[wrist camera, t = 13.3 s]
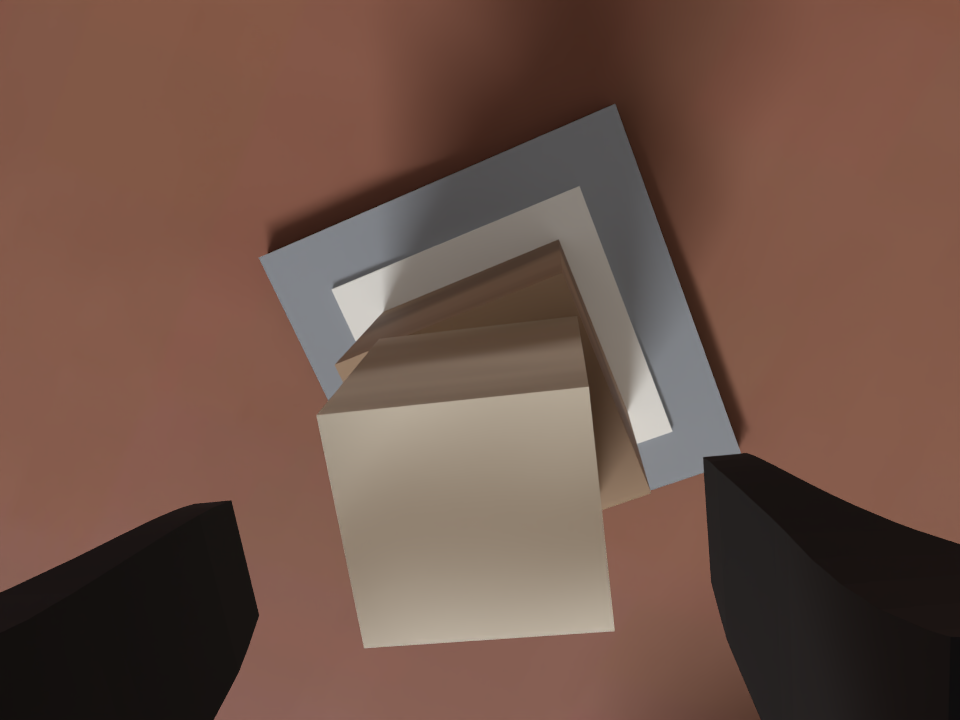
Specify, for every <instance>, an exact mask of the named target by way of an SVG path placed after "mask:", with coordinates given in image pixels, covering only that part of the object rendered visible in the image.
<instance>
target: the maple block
mask: <svg viewBox="0 0 960 720" xmlns="http://www.w3.org/2000/svg"><path fill="white" fill-rule="evenodd" d="M317 420H318V425H319V430H320V435H321V440H322V445H323V449H324V454H325V459H326V464H327V469H328V474H329V479H330V484H331V489H332V493H333V498H334V503H335V508H336V513H337V518H338V523H339V528H340V533H341V537H342V542H343V547H344V552H345V557H346V562H347V567H348V572H349V577H350V581H351V586H352V591H353V596H354V601H355V606H356V611H357V616H358V621H359V625H360V630H361V635H362V640H363V645H364V648H374V647H388V646H403V645H418V644H432V643H447V642H462V641H476V640H491V639H505V638H520V637H535V636H549V635H564V634H578V633H593V632H608V631H615V630H614V620H613V611H612V601H611V592H610V582H609V573H608V564H607V554H606V545H605V535H604V526H603V516H602V507H601V497H600V488H599V478H598V469H597V459H596V450H595V441H594V431H593V422H592V412H591V403H590V393H589V385H588V379H587V373H586V366H585V360H584V354H583V348H582V342H581V336H580V330H579V324H578V317H577V316H572V317H564V318H555V319H546V320H538V321H529V322H520V323H512V324H503V325H494V326H486V327H477V328H468V329H460V330H451V331H442V332H434V333H425V334H416V335H408V336H399V337H390V338H382V339H379V340H378V341H377V342H376V343H375V344H374V346H373V347H372V348H371V349H370V351H369V352H368V353H367V354H366V355H365V357H364V358H363V359H362V360H361V362H360V363H359V364H358V365H357V366H356V368H355V369H354V370H353V371H352V373H351V374H350V375H349V376H348V377H347V379H346V380H345V381H344V382H343V384H342V385H341V386H340V387H339V388H338V390H337V391H336V392H335V393H334V395H333V396H332V397H331V398H330V399H329V401H328V402H327V403H326V404H325V406H324V407H323V408H322V409H321V410H320V412H319V413H318V414H317Z"/></svg>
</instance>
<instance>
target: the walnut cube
mask: <svg viewBox="0 0 960 720" xmlns="http://www.w3.org/2000/svg"><path fill="white" fill-rule="evenodd" d="M572 316H577V317H578V324H579V330H580V336H581V342H582V348H583V354H584V360H585V366H586V373H587V379H588V385H589V393H590V403H591V412H592V422H593V431H594V441H595V450H596V459H597V469H598V478H599V488H600V497H601V507H602V510H604V509H607V508H609V507H612V506H615V505H618V504H621V503H624V502H627V501H630V500H633V499H636V498H639V497H642V496H644V495H647V494H650V493H651V491H650V487H649V484H648V480H647V477H646V473H645V470H644V467H643V463H642V460H641V456H640V453H639V449H638V446H637V442H636V439H635V435H634V432H633V428H632V425H631V421H630V418H629V414H628V411H627V409H626V406H625V404H624V401H623V399H622V396H621V394H620V391H619V389H618V386H617V384H616V381H615V379H614V376H613V374H612V371H611V369H610V366H609V364H608V361H607V359H606V356H605V354H604V351H603V349H602V346H601V344H600V341H599V339H598V336H597V334H596V331H595V329H594V326H593V324H592V321H591V319H590V316H589V314H588V311H587V309H586V306H585V304H584V301H583V299H582V296H581V294H580V291H579V289H578V286H577V284H576V281H575V279H574V276H573V274H572V271H571V269H570V266H569V264H568V261H567V259H566V256H565V254H564V251H563V249H562V246H561V244H560V241H559V239H558V240H556V241H553V242H551V243H549V244H546V245H544V246H541V247H539V248H536V249H534V250H532V251H529V252H527V253H524V254H522V255H520V256H517V257H515V258H512V259H510V260H507V261H505V262H503V263H500V264H498V265H495V266H493V267H490V268H488V269H486V270H483V271H481V272H478V273H476V274H474V275H471V276H469V277H466V278H464V279H461V280H459V281H457V282H454V283H452V284H449V285H447V286H444V287H442V288H440V289H437V290H435V291H432V292H430V293H428V294H425V295H423V296H420V297H418V298H415V299H413V300H411V301H408V302H406V303H403V304H401V305H398V306H396V307H394V308H391V309H389V310H386V311H384V312H383V313H382V314H381V315H380V316H379V317H378V318H377V319H376V320H375V321H374V322H373V324H372V325H371V326H370V327H369V328H368V329H367V330H366V331H365V332H364V333H363V334H362V335H361V337H360V338H359V339H358V340H357V341H356V342H355V343H354V344H353V345H352V346H351V347H350V349H349V350H348V351H347V352H346V353H345V354H344V355H343V356H342V357H341V358H340V359H339V360H338V362H337V363H336V364H335V367H336V369H337V371H338V373H339V375H340V377H341V379H342V381H343V382H344V381H345V380H346V379H347V377H348V376H349V375H350V374H351V373H352V371H353V370H354V369H355V368H356V366H357V365H358V364H359V363H360V362H361V360H362V359H363V358H364V357H365V355H366V354H367V353H368V352H369V351H370V349H371V348H372V347H373V346H374V344H375V343H376V342H377V341H378V340H379V339H382V338H390V337H399V336H408V335H416V334H425V333H434V332H442V331H451V330H460V329H468V328H477V327H486V326H494V325H503V324H512V323H520V322H529V321H538V320H546V319H555V318H564V317H572Z"/></svg>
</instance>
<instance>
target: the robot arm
mask: <svg viewBox="0 0 960 720" xmlns="http://www.w3.org/2000/svg"><path fill="white" fill-rule="evenodd" d="M703 465H704V481H705V496H706V511H707V526H708V541H709V556H710V571H711V583H712V587H713V591H714V594H715V598H716V602H717V606H718V609H719V613H720V617H721V620H722V624H723V627H724V631H725V634H726V638H727V641H728V643H729V646H730V648H731V650H732V653H733V655H734V658H735V660H736V662H737V665H738V667H739V669H740V672H741V674H742V676H743V679H744V681H745V684H746V686H747V688H748V690H749V693H750V695H751V697H752V700H753V702H754V704H755V707H756V709H757V711H758V714H759V716H760V718H761V720H960V544H957V543H954V542H951V541H948V540H945V539H942V538H939V537H936V536H933V535H930V534H927V533H924V532H920V531H917V530H914V529H912V528H909V527H906V526H904V525H901V524H898V523H896V522H893V521H891V520H888V519H886V518H883V517H881V516H879V515H876V514H874V513H871V512H869V511H867V510H864V509H862V508H860V507H857V506H855V505H853V504H851V503H848V502H846V501H844V500H842V499H840V498H838V497H835V496H833V495H831V494H829V493H827V492H825V491H823V490H821V489H819V488H817V487H815V486H813V485H811V484H809V483H807V482H805V481H803V480H801V479H799V478H797V477H795V476H794V475H792V474H790V473H788V472H786V471H784V470H782V469H780V468H778V467H776V466H774V465H772V464H770V463H768V462H766V461H764V460H762V459H760V458H758V457H756V456H753V455H751V454H748V453H742V454H731V455H720V456H709V457H703ZM258 617H259V613H258V609H257V605H256V601H255V596H254V592H253V588H252V584H251V580H250V576H249V572H248V568H247V563H246V559H245V555H244V551H243V547H242V543H241V539H240V534H239V530H238V526H237V522H236V518H235V514H234V510H233V506H232V501H221V502H210V503H199V504H193V505H189V506H186V507H182V508H180V509H177V510H174V511H172V512H169V513H167V514H165V515H162V516H160V517H158V518H156V519H153V520H151V521H149V522H147V523H145V524H143V525H141V526H139V527H137V528H135V529H133V530H130V531H128V532H126V533H124V534H122V535H120V536H118V537H116V538H114V539H112V540H110V541H108V542H106V543H104V544H102V545H100V546H98V547H96V548H94V549H92V550H90V551H88V552H86V553H84V554H82V555H80V556H78V557H76V558H74V559H72V560H70V561H68V562H65V563H63V564H61V565H59V566H57V567H55V568H53V569H50V570H48V571H46V572H44V573H42V574H40V575H38V576H35V577H33V578H31V579H29V580H27V581H25V582H23V583H21V584H18V585H16V586H14V587H12V588H10V589H8V590H5V591H3V592H1V593H0V720H214V718H215V716H216V714H217V712H218V711H219V709H220V707H221V705H222V703H223V701H224V699H225V697H226V695H227V694H228V692H229V690H230V688H231V686H232V684H233V682H234V680H235V678H236V676H237V674H238V672H239V670H240V667H241V665H242V662H243V660H244V657H245V654H246V652H247V649H248V647H249V644H250V641H251V638H252V635H253V632H254V629H255V626H256V623H257V620H258Z"/></svg>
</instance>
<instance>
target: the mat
mask: <svg viewBox="0 0 960 720" xmlns="http://www.w3.org/2000/svg"><path fill="white" fill-rule="evenodd" d="M558 239H559V241H560V244H561V246H562V249H563V251H564V254H565V256H566V259H567V261H568V264H569V266H570V269H571V271H572V274H573V276H574V279H575V281H576V284H577V286H578V289H579V291H580V294H581V296H582V299H583V301H584V304H585V306H586V309H587V311H588V314H589V316H590V319H591V321H592V324H593V326H594V329H595V331H596V334H597V336H598V339H599V341H600V344H601V346H602V349H603V351H604V354H605V356H606V359H607V361H608V364H609V366H610V369H611V371H612V374H613V376H614V379H615V381H616V384H617V386H618V389H619V391H620V394H621V396H622V399H623V401H624V404H625V406H626V409H627V411H628V414H629V418H630V421H631V425H632V428H633V432H634V435H635V439H636V442H637V446H638V449H639V453H640V456H641V460H642V463H643V467H644V470H645V473H646V477H647V480H648V484H649V487H650V490H653V489H656V488H659V487H662V486H665V485H668V484H671V483H674V482H677V481H680V480H683V479H686V478H689V477H692V476H695V475H698V474H701V473H704V465H703V457H709V456H720V455H731V454H741V452H740V449H739V447H738V444H737V441H736V438H735V435H734V433H733V430H732V427H731V424H730V421H729V419H728V416H727V413H726V410H725V408H724V405H723V402H722V399H721V396H720V394H719V391H718V388H717V385H716V383H715V380H714V377H713V374H712V371H711V369H710V366H709V363H708V360H707V358H706V355H705V352H704V349H703V346H702V344H701V341H700V338H699V335H698V333H697V330H696V327H695V324H694V321H693V319H692V316H691V313H690V310H689V308H688V305H687V302H686V299H685V296H684V294H683V291H682V288H681V285H680V282H679V280H678V277H677V274H676V271H675V269H674V266H673V263H672V260H671V257H670V255H669V252H668V249H667V246H666V244H665V241H664V238H663V235H662V232H661V230H660V227H659V224H658V221H657V219H656V216H655V213H654V210H653V207H652V205H651V202H650V199H649V196H648V194H647V191H646V188H645V185H644V182H643V180H642V177H641V174H640V171H639V169H638V166H637V163H636V160H635V157H634V155H633V152H632V149H631V146H630V143H629V141H628V138H627V135H626V132H625V130H624V127H623V124H622V121H621V118H620V116H619V113H618V110H617V107H616V105H615V104H613V105H611V106H609V107H606V108H604V109H602V110H599V111H597V112H595V113H592V114H590V115H588V116H586V117H583V118H581V119H579V120H576V121H574V122H572V123H569V124H567V125H565V126H562V127H560V128H558V129H556V130H553V131H551V132H549V133H546V134H544V135H542V136H539V137H537V138H535V139H532V140H530V141H528V142H525V143H523V144H521V145H519V146H516V147H514V148H512V149H509V150H507V151H505V152H502V153H500V154H498V155H495V156H493V157H491V158H488V159H486V160H484V161H482V162H479V163H477V164H475V165H472V166H470V167H468V168H465V169H463V170H461V171H458V172H456V173H454V174H451V175H449V176H447V177H445V178H442V179H440V180H438V181H435V182H433V183H431V184H428V185H426V186H424V187H421V188H419V189H417V190H414V191H412V192H410V193H408V194H405V195H403V196H401V197H398V198H396V199H394V200H391V201H389V202H387V203H384V204H382V205H380V206H378V207H375V208H373V209H371V210H368V211H366V212H364V213H361V214H359V215H357V216H354V217H352V218H350V219H347V220H345V221H343V222H341V223H338V224H336V225H334V226H331V227H329V228H327V229H324V230H322V231H320V232H317V233H315V234H313V235H310V236H308V237H306V238H304V239H301V240H299V241H297V242H294V243H292V244H290V245H287V246H285V247H283V248H280V249H278V250H276V251H273V252H271V253H269V254H267V255H264V256H262V257H260V258H259V259H260V261H261V263H262V265H263V267H264V269H265V271H266V273H267V276H268V278H269V280H270V282H271V284H272V286H273V288H274V290H275V292H276V294H277V296H278V298H279V300H280V302H281V304H282V306H283V308H284V310H285V312H286V315H287V317H288V319H289V321H290V323H291V325H292V327H293V329H294V331H295V333H296V335H297V337H298V339H299V341H300V343H301V345H302V347H303V349H304V351H305V353H306V356H307V358H308V360H309V362H310V364H311V366H312V368H313V370H314V372H315V374H316V376H317V378H318V380H319V382H320V384H321V386H322V388H323V390H324V392H325V395H326V397H327V399H328V401H329V399H330V398H331V397H332V396H333V395H334V393H335V392H336V391H337V390H338V388H339V387H340V386H341V385H342V384H343V381H342V379H341V377H340V375H339V373H338V371H337V369H336V367H335V364H336V363H337V362H338V360H339V359H340V358H341V357H342V356H343V355H344V354H345V353H346V352H347V351H348V350H349V349H350V347H351V346H352V345H353V344H354V343H355V342H356V341H357V340H358V339H359V338H360V337H361V335H362V334H363V333H364V332H365V331H366V330H367V329H368V328H369V327H370V326H371V325H372V324H373V322H374V321H375V320H376V319H377V318H378V317H379V316H380V315H381V314H382V313H383V312H384V311H386V310H389V309H391V308H394V307H396V306H398V305H401V304H403V303H406V302H408V301H411V300H413V299H415V298H418V297H420V296H423V295H425V294H428V293H430V292H432V291H435V290H437V289H440V288H442V287H444V286H447V285H449V284H452V283H454V282H457V281H459V280H461V279H464V278H466V277H469V276H471V275H474V274H476V273H478V272H481V271H483V270H486V269H488V268H490V267H493V266H495V265H498V264H500V263H503V262H505V261H507V260H510V259H512V258H515V257H517V256H520V255H522V254H524V253H527V252H529V251H532V250H534V249H536V248H539V247H541V246H544V245H546V244H549V243H551V242H553V241H556V240H558Z"/></svg>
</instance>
